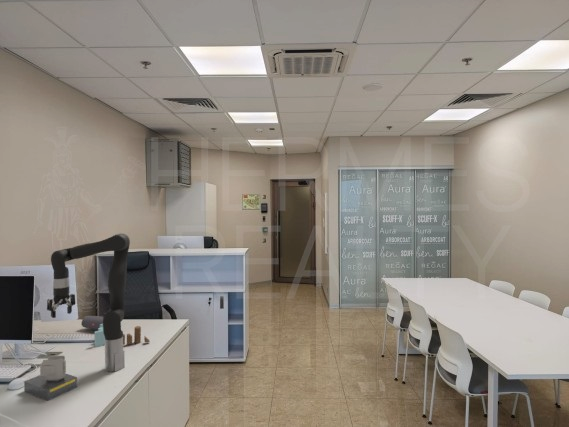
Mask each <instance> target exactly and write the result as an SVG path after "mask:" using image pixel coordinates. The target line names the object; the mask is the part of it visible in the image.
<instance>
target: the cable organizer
mask: <svg viewBox="0 0 569 427" xmlns="http://www.w3.org/2000/svg"><path fill="white" fill-rule="evenodd" d="M65 357H66V356H65V355H50V356H49V357H48V358H47V359H44V360H43V361H42V362H41V363H40V364H39V368H40V370H39V371H40V373H39V375H40V376H45V379H46V380H47V381H58V380H61V379H63V378H64V377H65V373H66V372H67V362H66V358H65ZM66 374H67V373H66Z"/></svg>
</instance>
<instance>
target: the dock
mask: <svg viewBox="0 0 569 427" xmlns="http://www.w3.org/2000/svg"><path fill="white" fill-rule="evenodd" d="M23 382H24V383H23V384H24V386H23V387H24V393H27V394H29V395H31V396H35V397H37V398H40V399H42V400H45V401H47V402H48V401H50V400H53V399H55V398H57V397H59V396H60V395H63V394H65V393H68V392H70V391H72V390H73V389H76V388H78V377H77V376H75V375H72V374H69V373H65V377H64V378H63V379H61V380H58V381H47V380H46V379H45V376H40V374H38V375H36V376H35V377H31V378H29V379H27V380H25V381H23Z"/></svg>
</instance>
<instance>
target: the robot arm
mask: <svg viewBox="0 0 569 427" xmlns="http://www.w3.org/2000/svg"><path fill="white" fill-rule="evenodd" d="M130 241H131V240H130V238H129V236H128V235H127V234H125V233H117V234H114V235H111V236H110V237H108V238H105V239H102V240H100V241H96V242H90V243H89V242H88V243H82V244H80V245H77V246H72V247H68V248H63V249H59V250H56V251H53V252H52V254H51V255H50V264H51V267H52V270H53V282H52V290H53V291H52V292H53V293H52V294H53V295H52V296H53V298H51V299H50V298H48V299H47V301H46V311H50V317H51V318H53V319H55V318H56V314H57V313H56V310H57V308H58V307H59V306H63V305H67V307H66V311H67V314H69V315H70V314H72V312H73V310H72V309H73V308H72V307H73V306H74V305H76V296H75V293H70V278H69V277H70V275H69V274H70V272H69V267H67V266H66V262H70V261H72V260H73V261H74V260H76V259H77V260H79V259H83V258H87V257H90V256H93V255H97V254H100V253H105V252H113V259H112V261H111V265H110V268H109V271H108V279H107V288H108V289H107V290H108V293H109V299H110V302H109V307H108V310H107V311H106V312H105V313H104V315H103V316H102V317H103V333H104V336H105V345H104V356H105V357H104V362H105V364H104V368H105V371H106V372H117V371H120V370H121V369H124V368H125V366H126V365H125V350H124V345H123V334H124V331H123V330H122V321H123V319H124V317H125V294H126V287H127V286H126V285H127V284H126V283H127V271H128V268H127V267H128V255H129V249H130V245H131V242H130Z"/></svg>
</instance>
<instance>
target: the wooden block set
mask: <svg viewBox="0 0 569 427" xmlns="http://www.w3.org/2000/svg"><path fill="white" fill-rule="evenodd" d="M141 332H142V327H141V326H140V325H137V326H135V327H134V336H133V335H132V334H131V333H127V334H125V333H123V346H124V345H125V344H126V345H132V344H133V341H134V344H139V343H141V342H142V341H141V340H142V337H141V335H142V334H141ZM133 337H134V339H133ZM125 338H126V339H125ZM125 342H126V343H125ZM144 343H150V339H149V338H148V337H147V336H146V335H144Z"/></svg>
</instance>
